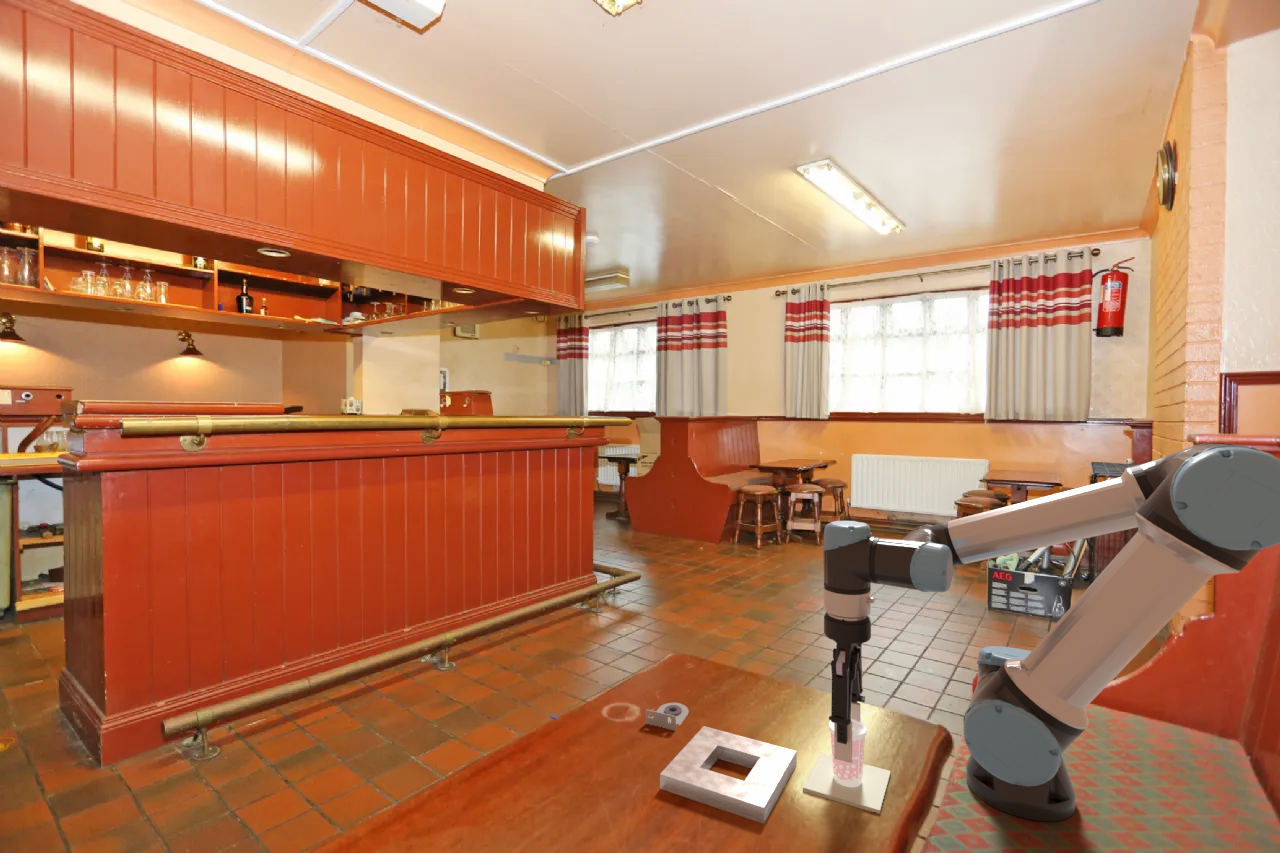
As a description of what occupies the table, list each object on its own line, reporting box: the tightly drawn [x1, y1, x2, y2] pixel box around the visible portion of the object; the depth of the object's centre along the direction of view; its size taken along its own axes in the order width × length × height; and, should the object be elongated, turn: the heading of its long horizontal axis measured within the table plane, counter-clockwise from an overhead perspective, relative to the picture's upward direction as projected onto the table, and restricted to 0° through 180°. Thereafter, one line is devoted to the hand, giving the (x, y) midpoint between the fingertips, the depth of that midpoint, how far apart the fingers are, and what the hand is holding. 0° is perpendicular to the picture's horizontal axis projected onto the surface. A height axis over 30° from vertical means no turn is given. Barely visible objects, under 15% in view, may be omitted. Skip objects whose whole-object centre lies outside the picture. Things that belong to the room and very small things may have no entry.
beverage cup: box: [828, 719, 868, 787], centre depth 102 cm, size 6×6×14 cm
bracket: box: [644, 702, 690, 732], centre depth 126 cm, size 7×10×4 cm, turn 154°
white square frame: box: [659, 725, 798, 825], centre depth 104 cm, size 18×18×2 cm
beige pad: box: [802, 752, 891, 814], centre depth 102 cm, size 12×12×1 cm
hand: (847, 749), depth 102 cm, fingers open, 6 cm apart
